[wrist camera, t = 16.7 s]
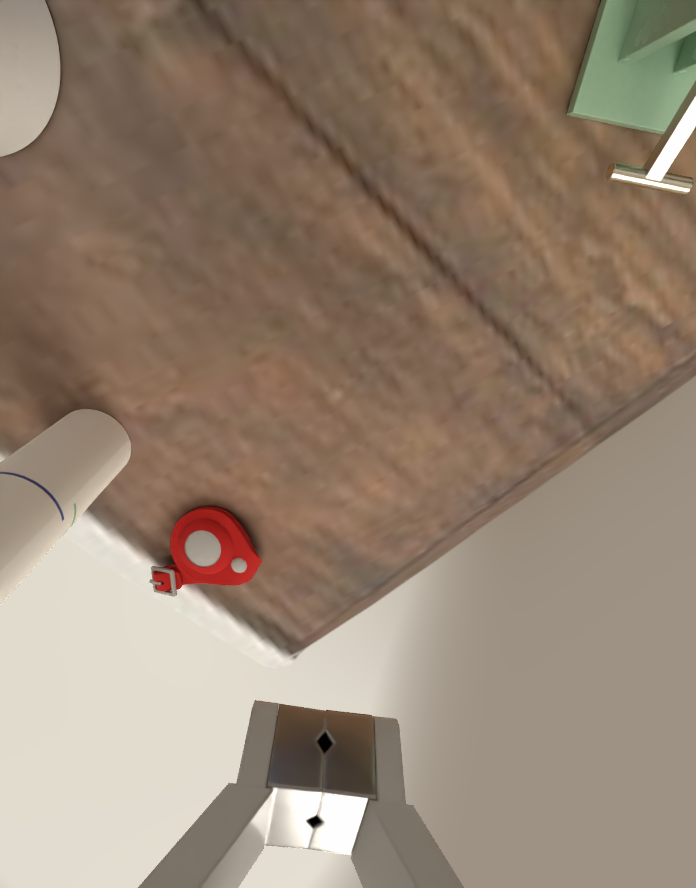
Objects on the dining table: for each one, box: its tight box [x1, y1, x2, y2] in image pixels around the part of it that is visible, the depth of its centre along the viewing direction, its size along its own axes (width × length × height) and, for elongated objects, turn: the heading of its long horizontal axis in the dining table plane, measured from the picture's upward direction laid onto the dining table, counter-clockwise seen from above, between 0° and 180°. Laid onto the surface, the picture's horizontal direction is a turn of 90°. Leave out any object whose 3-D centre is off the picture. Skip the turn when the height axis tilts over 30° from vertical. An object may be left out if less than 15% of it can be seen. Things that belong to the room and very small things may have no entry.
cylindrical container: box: [0, 409, 131, 605], centre depth 38 cm, size 7×7×25 cm
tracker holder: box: [150, 506, 262, 597], centre depth 53 cm, size 12×4×10 cm
